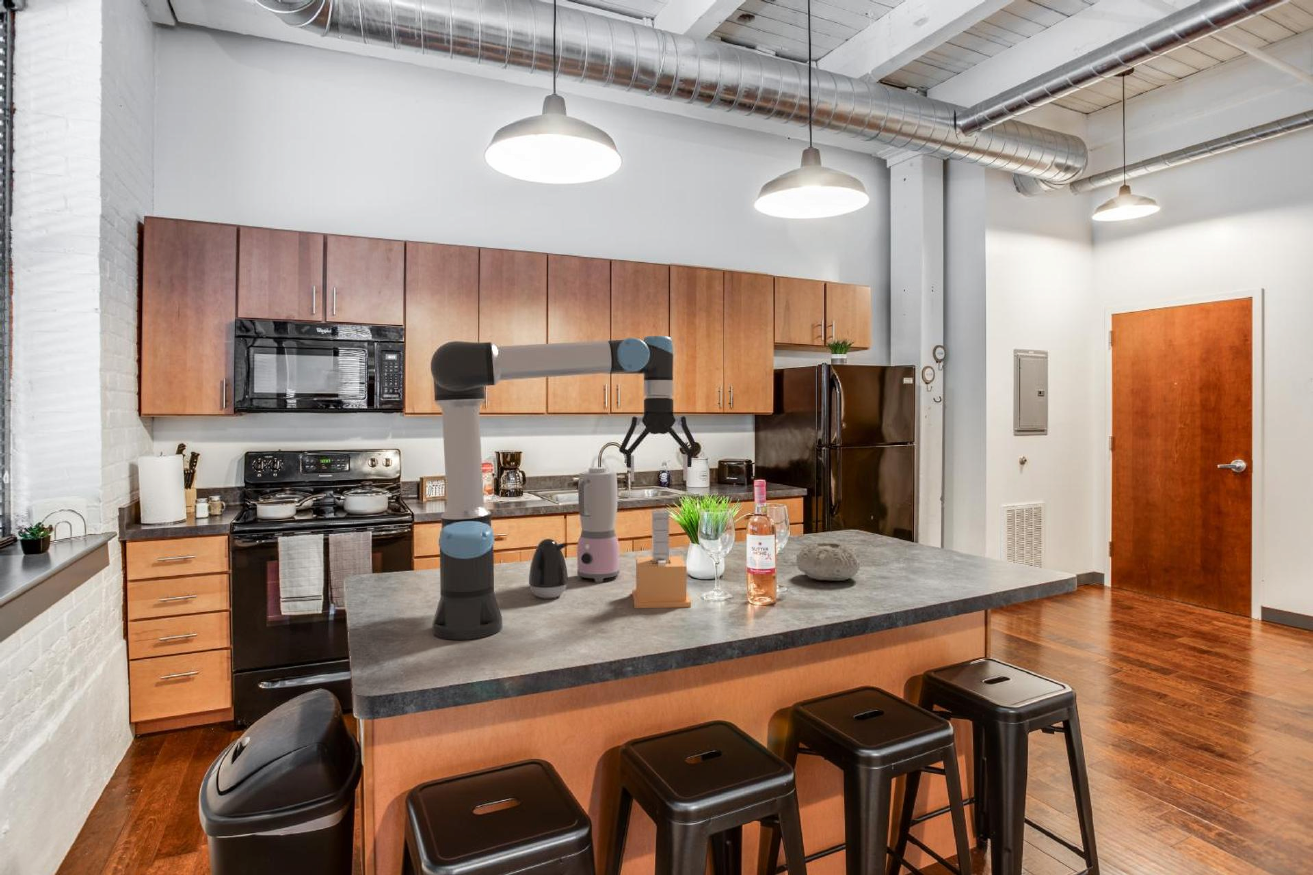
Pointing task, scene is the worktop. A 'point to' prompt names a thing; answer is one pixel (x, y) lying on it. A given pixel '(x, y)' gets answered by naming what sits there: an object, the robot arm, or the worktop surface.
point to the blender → (597, 525)
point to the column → (660, 536)
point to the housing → (660, 583)
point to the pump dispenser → (548, 570)
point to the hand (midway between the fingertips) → (658, 480)
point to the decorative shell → (828, 561)
